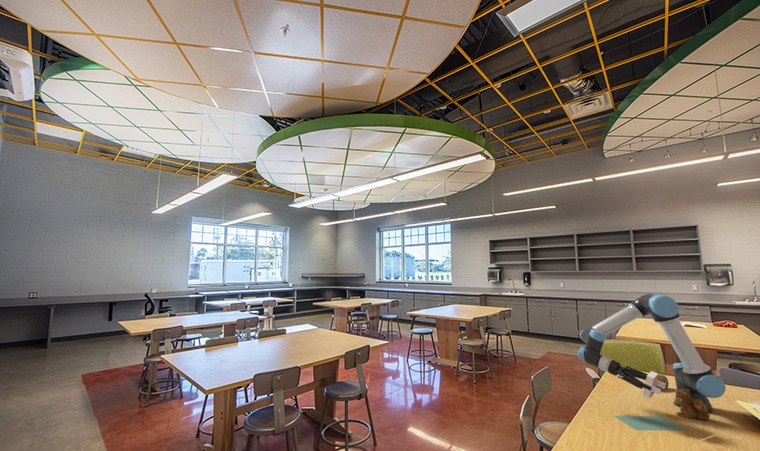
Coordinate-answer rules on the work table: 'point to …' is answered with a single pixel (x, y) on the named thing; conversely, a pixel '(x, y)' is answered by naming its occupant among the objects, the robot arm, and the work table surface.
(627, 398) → the work table surface
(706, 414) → the stuffed squirrel
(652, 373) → the card box
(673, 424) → the mat
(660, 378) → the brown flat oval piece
